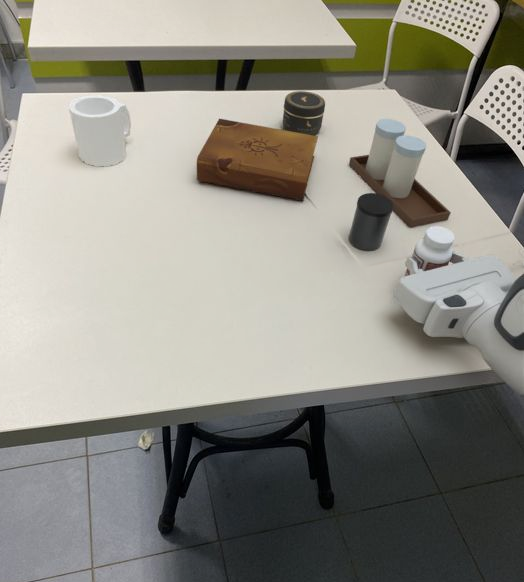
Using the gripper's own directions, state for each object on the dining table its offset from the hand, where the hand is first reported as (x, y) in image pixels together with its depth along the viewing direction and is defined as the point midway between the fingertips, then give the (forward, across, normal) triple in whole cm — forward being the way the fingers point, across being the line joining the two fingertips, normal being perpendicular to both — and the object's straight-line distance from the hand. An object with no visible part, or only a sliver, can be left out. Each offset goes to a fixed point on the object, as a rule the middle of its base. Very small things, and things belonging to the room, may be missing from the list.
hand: (427, 255), depth 85 cm
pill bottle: (-1, 0, +6) cm, 6 cm away
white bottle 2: (+27, -13, +6) cm, 30 cm away
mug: (+59, +43, +6) cm, 73 cm away
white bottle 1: (+34, -13, +6) cm, 37 cm away
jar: (+58, -5, +6) cm, 59 cm away
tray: (+27, -13, +6) cm, 30 cm away
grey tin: (+13, +3, +6) cm, 15 cm away
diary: (+43, +13, +6) cm, 46 cm away
